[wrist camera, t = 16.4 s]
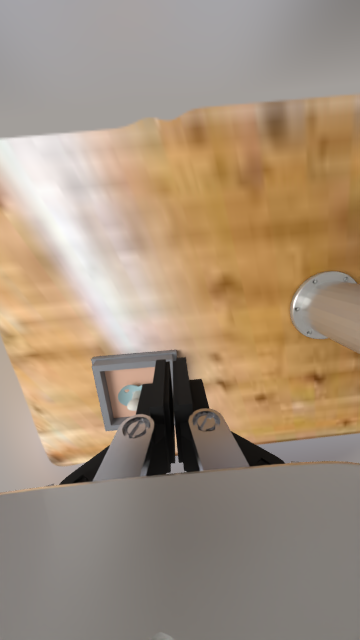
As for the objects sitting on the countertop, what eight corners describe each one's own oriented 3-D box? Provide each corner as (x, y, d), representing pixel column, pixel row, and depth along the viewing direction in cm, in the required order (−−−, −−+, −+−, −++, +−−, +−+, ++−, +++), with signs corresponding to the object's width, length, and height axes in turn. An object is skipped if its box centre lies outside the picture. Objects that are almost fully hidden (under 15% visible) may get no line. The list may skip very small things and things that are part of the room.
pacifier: (159, 405, 43) (157, 380, 41) (157, 430, 37) (155, 402, 35) (122, 406, 43) (119, 381, 41) (115, 432, 37) (111, 404, 35)
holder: (176, 349, 41) (176, 357, 38) (181, 413, 45) (182, 425, 42) (93, 356, 41) (86, 365, 37) (106, 420, 45) (101, 432, 42)
